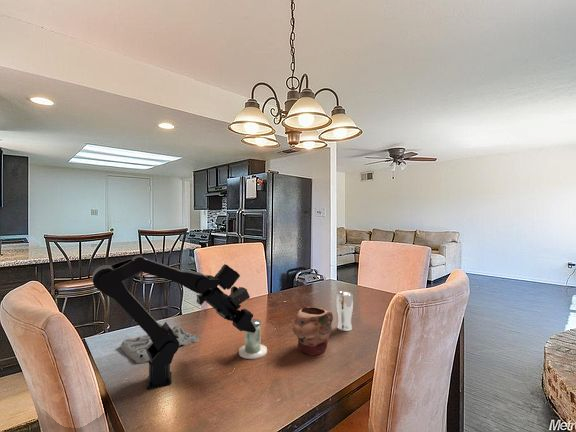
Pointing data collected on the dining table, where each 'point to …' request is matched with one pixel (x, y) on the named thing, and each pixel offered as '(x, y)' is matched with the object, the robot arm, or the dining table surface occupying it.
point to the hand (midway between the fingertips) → (248, 326)
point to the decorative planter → (313, 329)
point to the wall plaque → (142, 343)
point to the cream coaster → (256, 355)
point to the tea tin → (253, 338)
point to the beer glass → (344, 310)
